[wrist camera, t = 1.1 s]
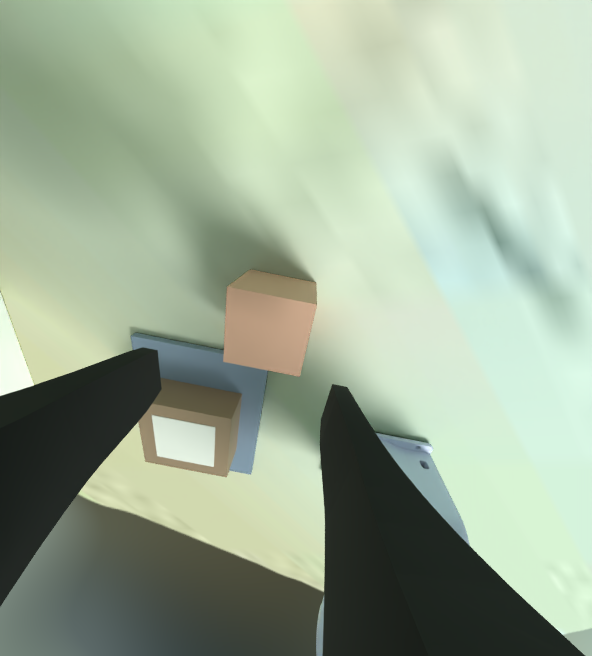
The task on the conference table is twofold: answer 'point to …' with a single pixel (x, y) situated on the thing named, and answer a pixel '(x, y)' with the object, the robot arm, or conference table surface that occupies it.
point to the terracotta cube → (269, 321)
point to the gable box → (11, 357)
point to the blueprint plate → (214, 377)
